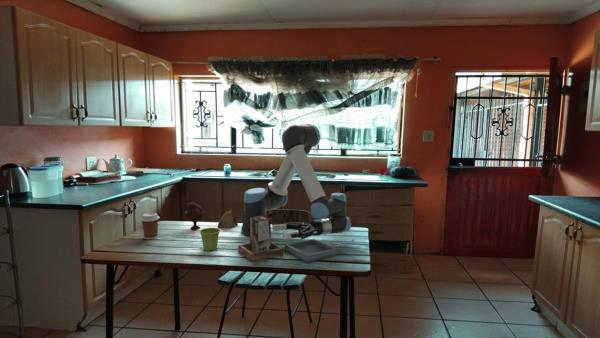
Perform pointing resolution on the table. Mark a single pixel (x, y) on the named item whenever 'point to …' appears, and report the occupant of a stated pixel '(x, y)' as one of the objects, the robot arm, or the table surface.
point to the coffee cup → (150, 225)
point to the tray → (310, 250)
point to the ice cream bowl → (194, 214)
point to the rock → (228, 220)
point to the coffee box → (260, 234)
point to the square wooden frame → (261, 255)
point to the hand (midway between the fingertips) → (278, 232)
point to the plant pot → (210, 238)
